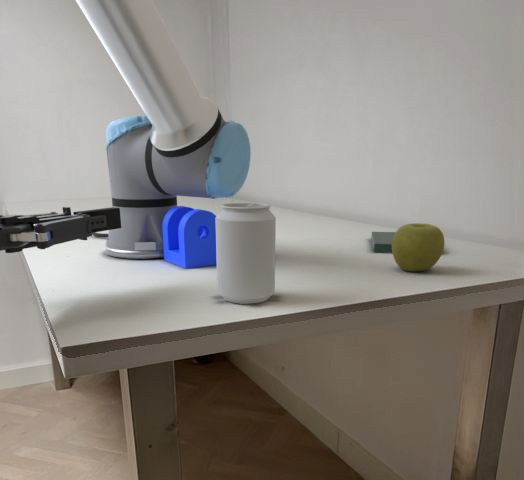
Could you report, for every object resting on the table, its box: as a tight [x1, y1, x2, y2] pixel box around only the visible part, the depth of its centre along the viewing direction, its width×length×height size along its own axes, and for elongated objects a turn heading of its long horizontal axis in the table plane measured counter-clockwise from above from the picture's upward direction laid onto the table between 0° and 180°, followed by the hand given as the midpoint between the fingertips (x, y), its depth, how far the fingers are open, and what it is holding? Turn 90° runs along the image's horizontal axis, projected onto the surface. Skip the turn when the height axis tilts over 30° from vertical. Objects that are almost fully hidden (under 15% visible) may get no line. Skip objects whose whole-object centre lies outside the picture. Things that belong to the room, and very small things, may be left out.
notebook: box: [370, 231, 396, 254], centre depth 110 cm, size 12×16×2 cm
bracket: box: [162, 205, 217, 269], centre depth 96 cm, size 18×8×9 cm, turn 124°
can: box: [215, 202, 277, 305], centre depth 70 cm, size 8×8×12 cm
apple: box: [392, 223, 445, 272], centre depth 87 cm, size 8×8×7 cm
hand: (116, 217), depth 76 cm, fingers closed
